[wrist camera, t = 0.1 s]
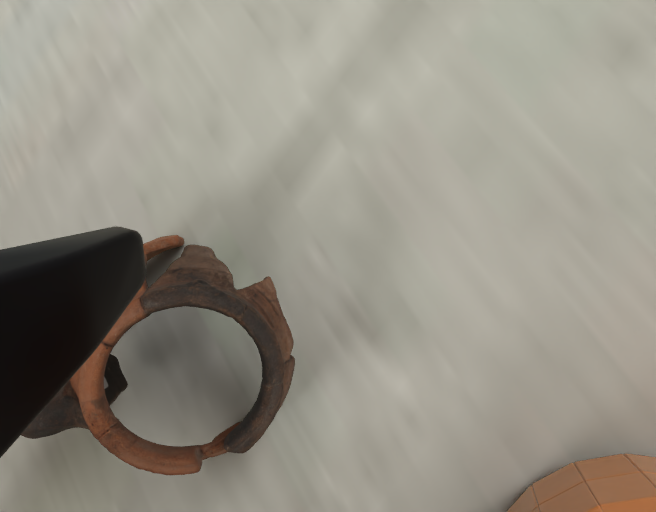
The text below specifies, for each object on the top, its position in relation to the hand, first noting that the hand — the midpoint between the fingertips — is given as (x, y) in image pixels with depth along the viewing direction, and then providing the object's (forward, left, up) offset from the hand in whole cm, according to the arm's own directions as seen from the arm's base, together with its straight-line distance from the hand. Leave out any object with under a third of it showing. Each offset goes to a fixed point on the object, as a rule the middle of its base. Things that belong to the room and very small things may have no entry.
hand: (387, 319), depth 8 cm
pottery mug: (+1, +12, -15) cm, 19 cm away
